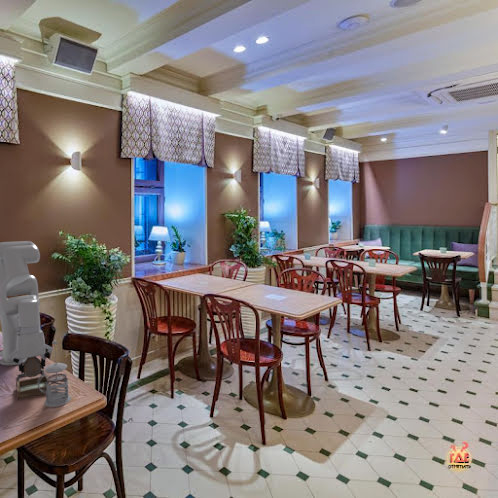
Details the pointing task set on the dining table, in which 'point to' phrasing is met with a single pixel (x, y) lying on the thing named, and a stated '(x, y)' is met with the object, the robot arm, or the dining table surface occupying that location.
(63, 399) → the french press
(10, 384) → the dining table surface
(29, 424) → the dining table surface
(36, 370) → the vase
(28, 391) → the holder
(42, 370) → the trivet frame
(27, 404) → the dining table surface
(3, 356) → the robot arm
